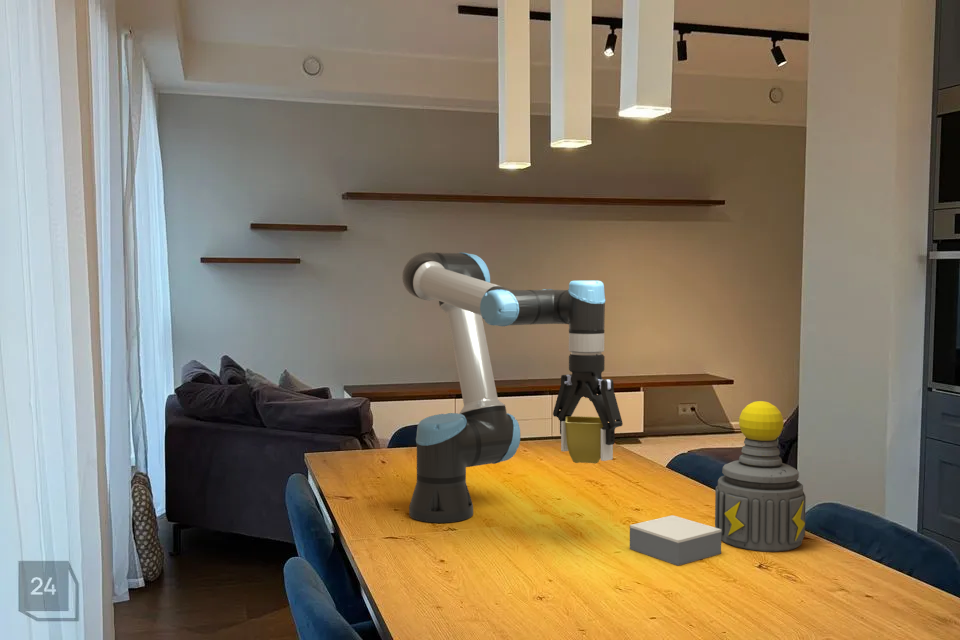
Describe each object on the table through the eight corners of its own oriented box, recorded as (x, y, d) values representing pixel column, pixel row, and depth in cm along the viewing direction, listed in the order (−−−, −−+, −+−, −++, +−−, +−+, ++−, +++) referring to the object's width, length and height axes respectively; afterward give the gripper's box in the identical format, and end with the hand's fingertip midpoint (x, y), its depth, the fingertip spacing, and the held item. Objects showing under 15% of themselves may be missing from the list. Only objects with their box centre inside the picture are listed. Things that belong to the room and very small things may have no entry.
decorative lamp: (695, 537, 187) (698, 400, 185) (745, 522, 199) (747, 393, 198) (774, 559, 172) (777, 410, 171) (822, 541, 184) (825, 402, 183)
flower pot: (606, 457, 187) (606, 416, 187) (607, 466, 178) (607, 422, 178) (565, 457, 188) (565, 415, 188) (565, 465, 179) (565, 422, 179)
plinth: (678, 565, 168) (678, 540, 168) (629, 548, 179) (629, 525, 179) (721, 553, 176) (721, 529, 176) (672, 538, 186) (672, 515, 186)
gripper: (640, 356, 175) (640, 462, 176) (562, 349, 194) (562, 444, 195) (613, 357, 170) (613, 466, 171) (536, 350, 190) (536, 448, 191)
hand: (586, 455), depth 183 cm, fingers closed on flower pot, 12 cm apart
